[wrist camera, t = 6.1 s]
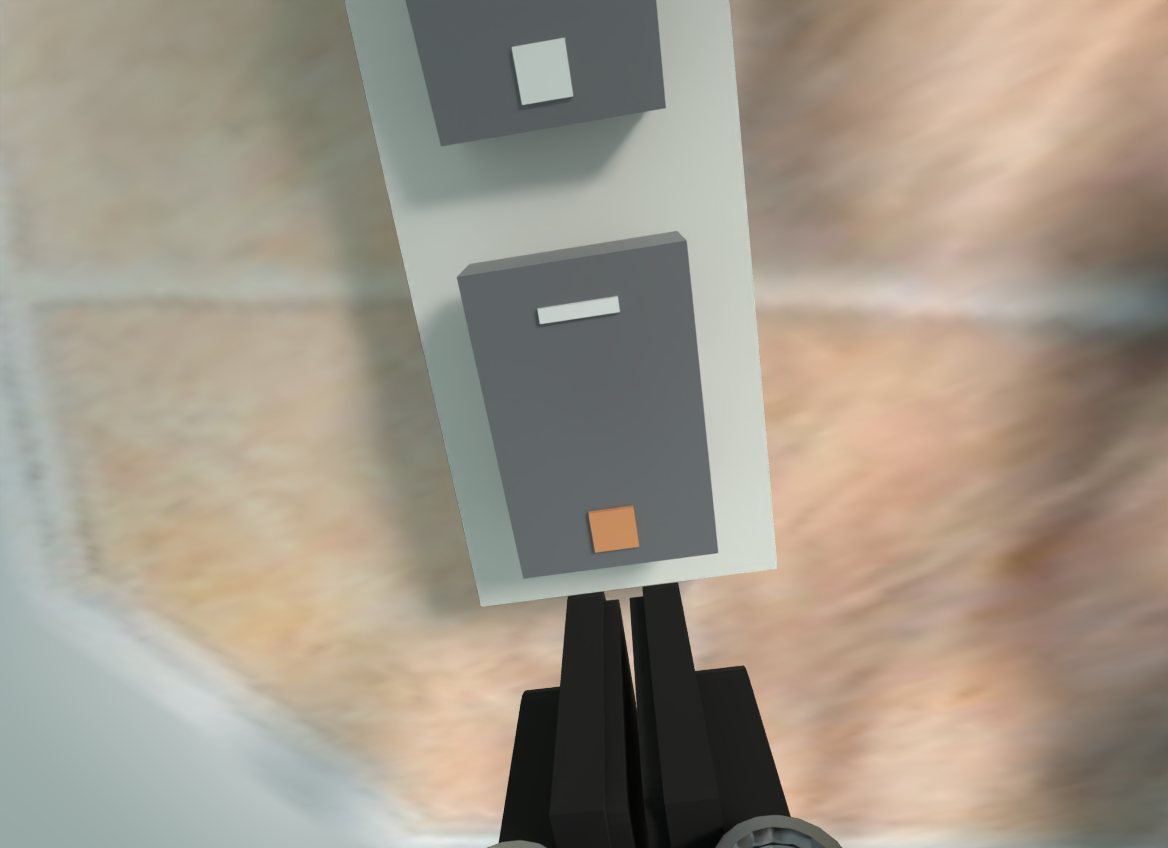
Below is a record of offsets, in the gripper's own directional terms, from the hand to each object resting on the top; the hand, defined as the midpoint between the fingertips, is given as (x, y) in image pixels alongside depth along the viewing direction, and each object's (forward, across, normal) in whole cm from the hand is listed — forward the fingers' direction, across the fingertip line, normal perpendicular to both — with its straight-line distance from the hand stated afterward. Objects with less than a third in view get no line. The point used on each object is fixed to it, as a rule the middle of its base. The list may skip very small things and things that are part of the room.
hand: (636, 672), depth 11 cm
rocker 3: (+6, 0, -2) cm, 6 cm away
